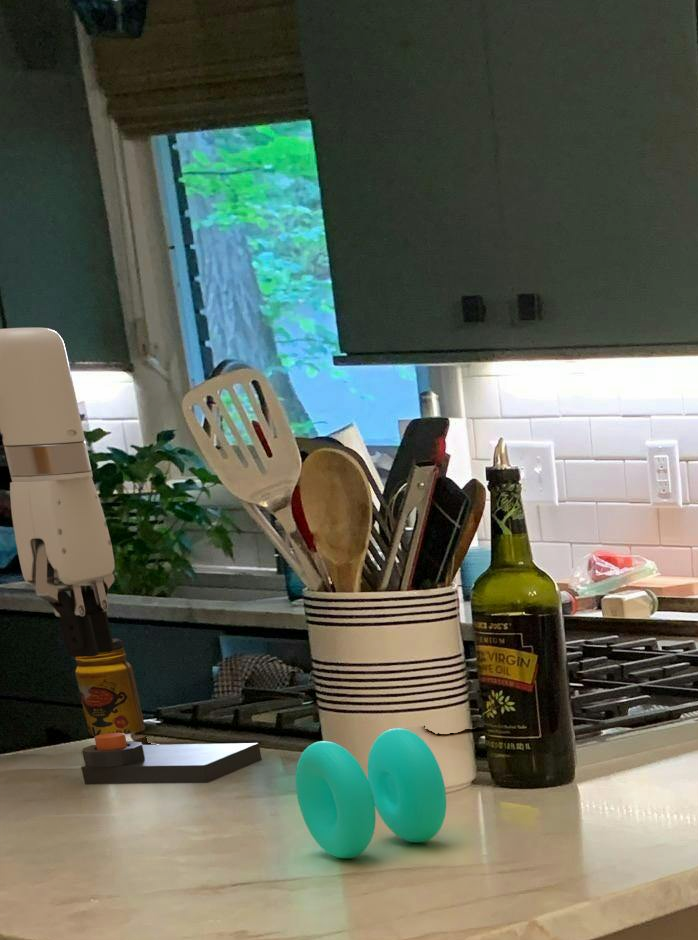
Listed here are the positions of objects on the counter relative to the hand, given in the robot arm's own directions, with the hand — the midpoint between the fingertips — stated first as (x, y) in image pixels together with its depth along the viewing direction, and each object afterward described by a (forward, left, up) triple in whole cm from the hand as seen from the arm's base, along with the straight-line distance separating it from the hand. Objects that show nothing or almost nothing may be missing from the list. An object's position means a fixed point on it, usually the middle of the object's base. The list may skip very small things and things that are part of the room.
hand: (91, 652), depth 200 cm
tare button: (0, 0, -10) cm, 10 cm away
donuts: (+44, -32, -13) cm, 55 cm away
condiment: (-10, +18, -13) cm, 25 cm away
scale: (+5, +4, -13) cm, 14 cm away
